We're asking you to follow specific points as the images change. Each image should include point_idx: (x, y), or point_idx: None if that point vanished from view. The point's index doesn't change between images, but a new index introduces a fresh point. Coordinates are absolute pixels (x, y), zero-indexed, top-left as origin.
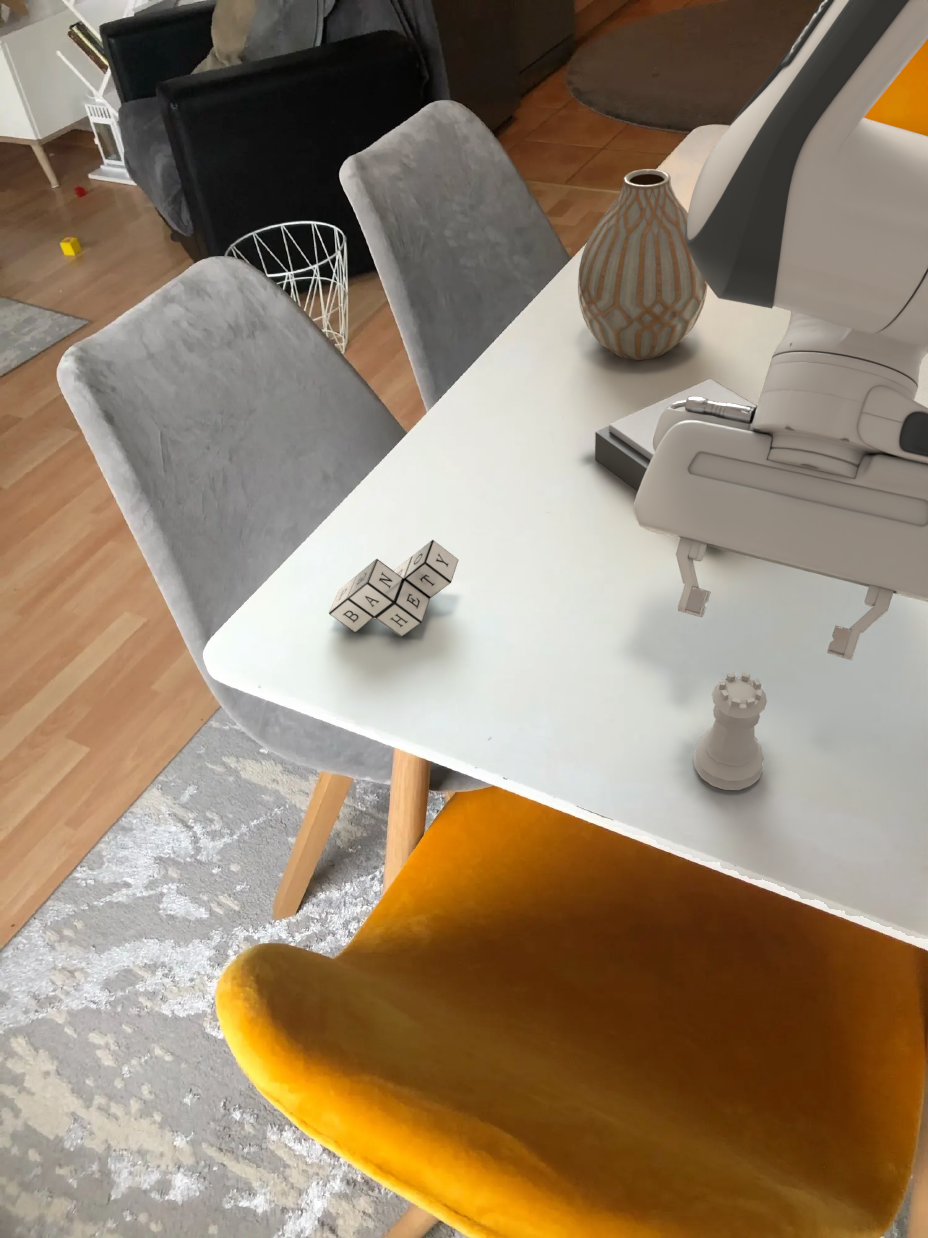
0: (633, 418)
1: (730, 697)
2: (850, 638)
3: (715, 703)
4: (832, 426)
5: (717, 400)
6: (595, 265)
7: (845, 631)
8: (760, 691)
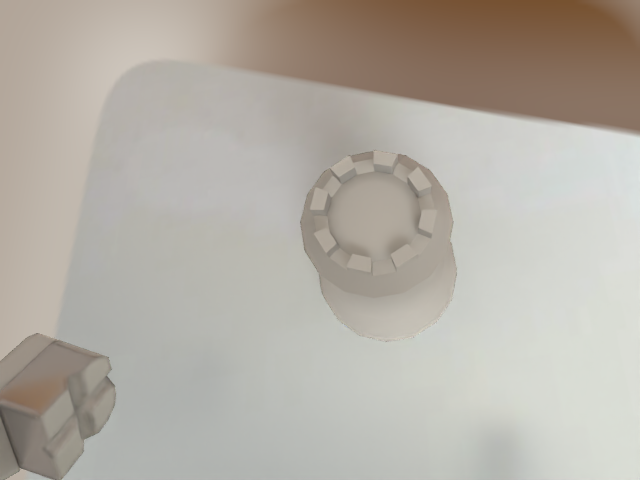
0: None
1: (400, 186)
2: (9, 374)
3: (440, 188)
4: None
5: None
6: None
7: (15, 398)
8: (316, 205)
